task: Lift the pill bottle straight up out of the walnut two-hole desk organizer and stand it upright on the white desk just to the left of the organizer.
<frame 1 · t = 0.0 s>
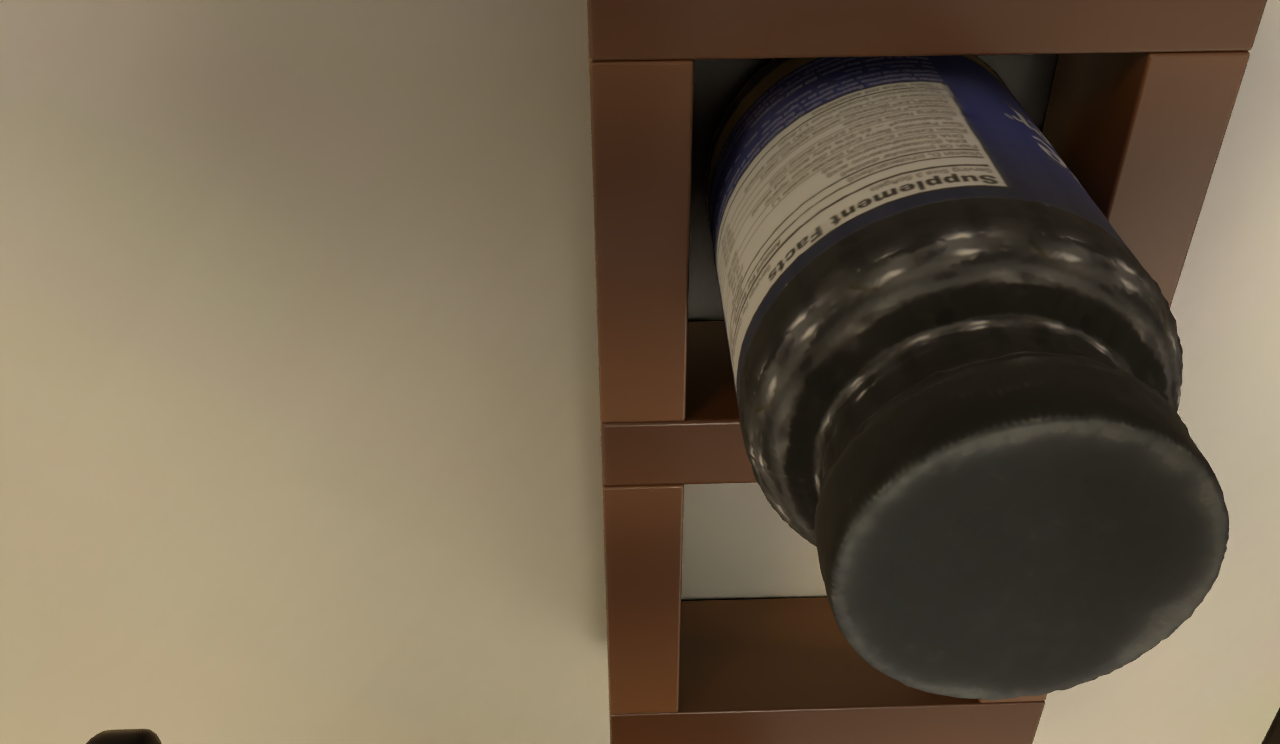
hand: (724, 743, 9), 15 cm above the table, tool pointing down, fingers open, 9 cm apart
pill bottle: (854, 162, 23), resting in organizer
organizer: (835, 347, 25), on the table
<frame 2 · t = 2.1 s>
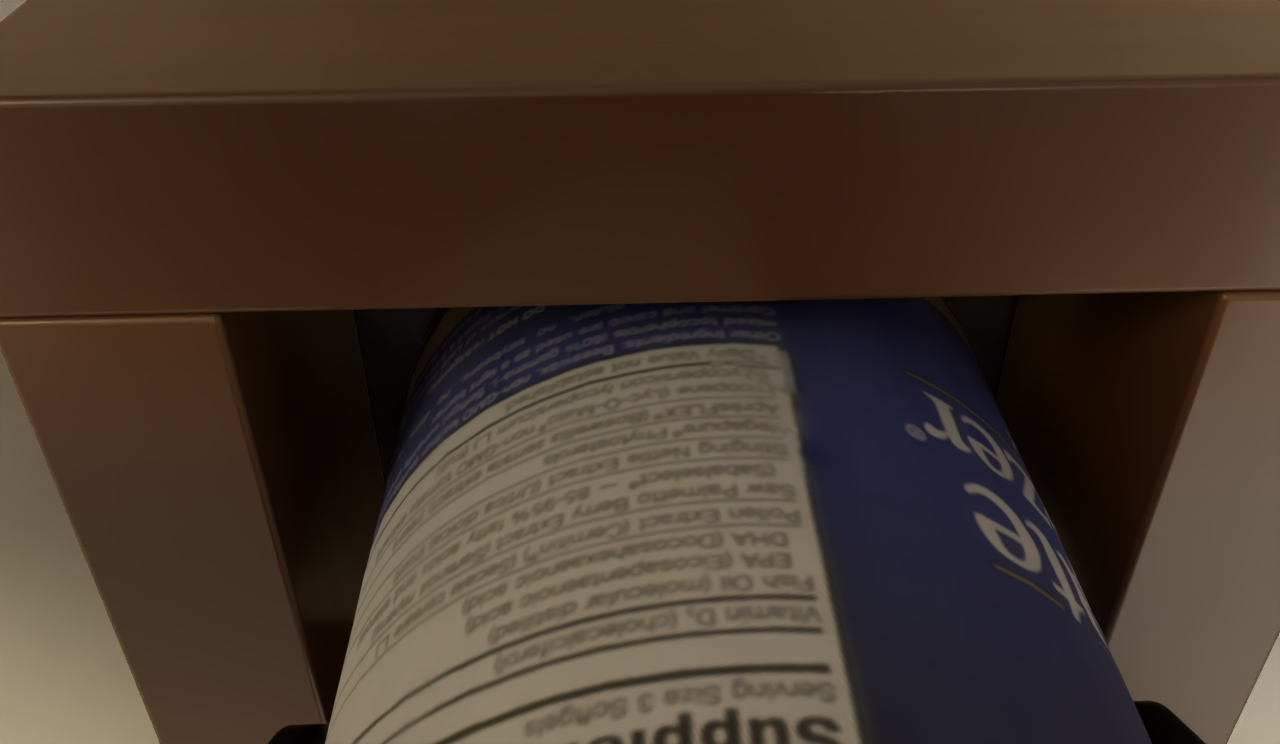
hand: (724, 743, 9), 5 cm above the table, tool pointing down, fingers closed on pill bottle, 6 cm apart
pill bottle: (684, 390, 13), resting in organizer, touching gripper
organizer: (679, 655, 15), on the table
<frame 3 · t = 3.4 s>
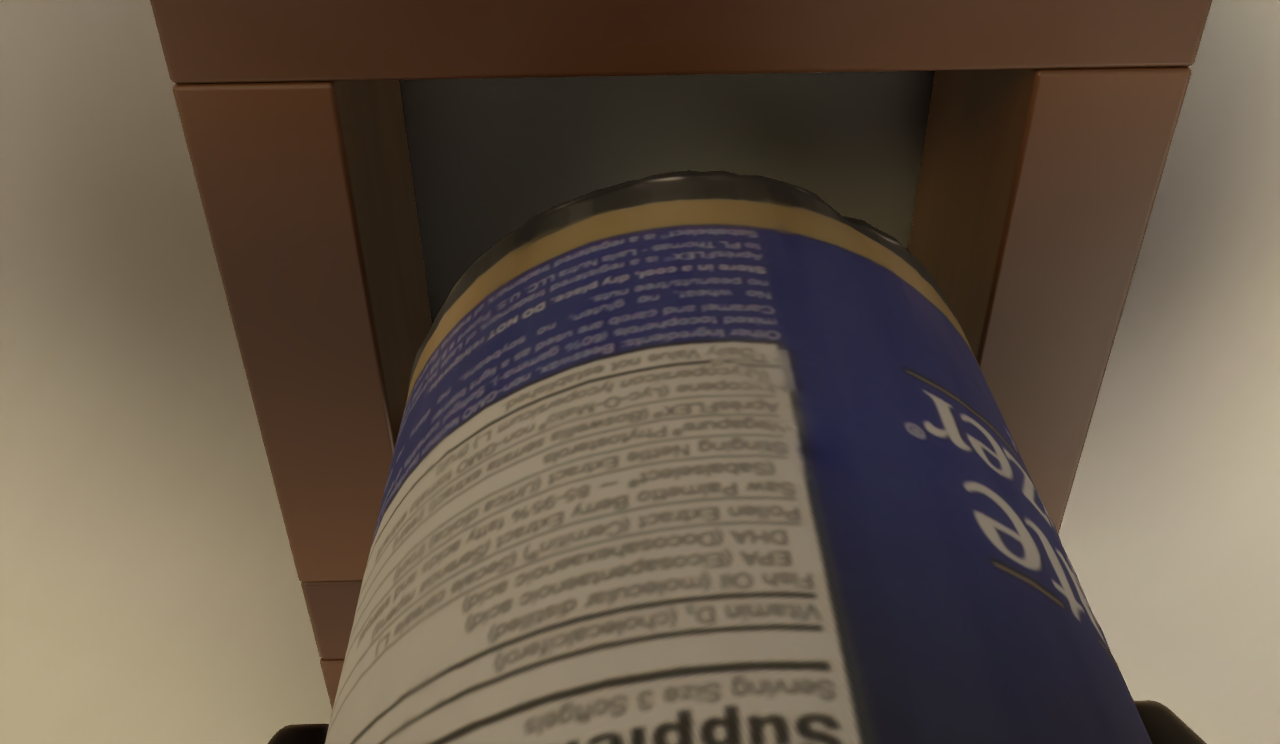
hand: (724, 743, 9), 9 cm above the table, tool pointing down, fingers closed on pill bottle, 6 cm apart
pill bottle: (684, 389, 13), point 4 cm above the table, touching gripper
organizer: (664, 452, 19), on the table
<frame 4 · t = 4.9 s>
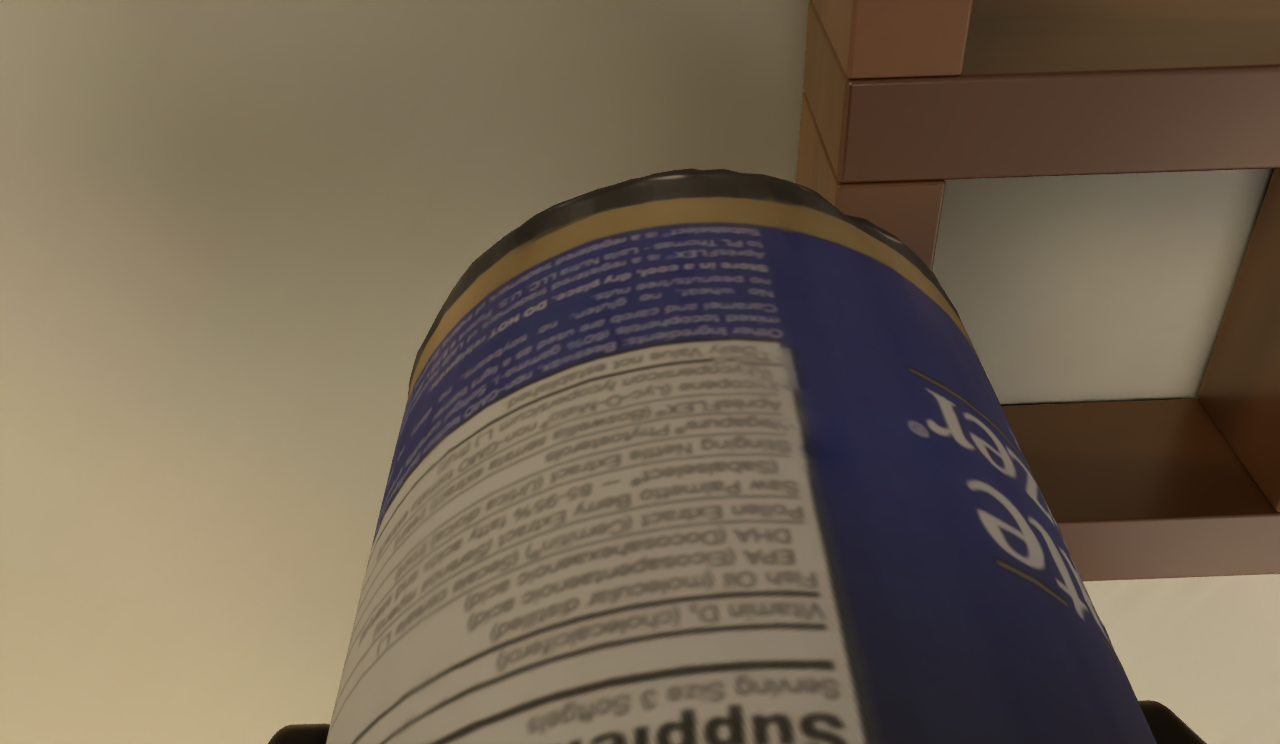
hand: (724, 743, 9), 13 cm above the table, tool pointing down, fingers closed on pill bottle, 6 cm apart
pill bottle: (685, 388, 13), point 8 cm above the table, touching gripper
organizer: (1110, 34, 19), on the table
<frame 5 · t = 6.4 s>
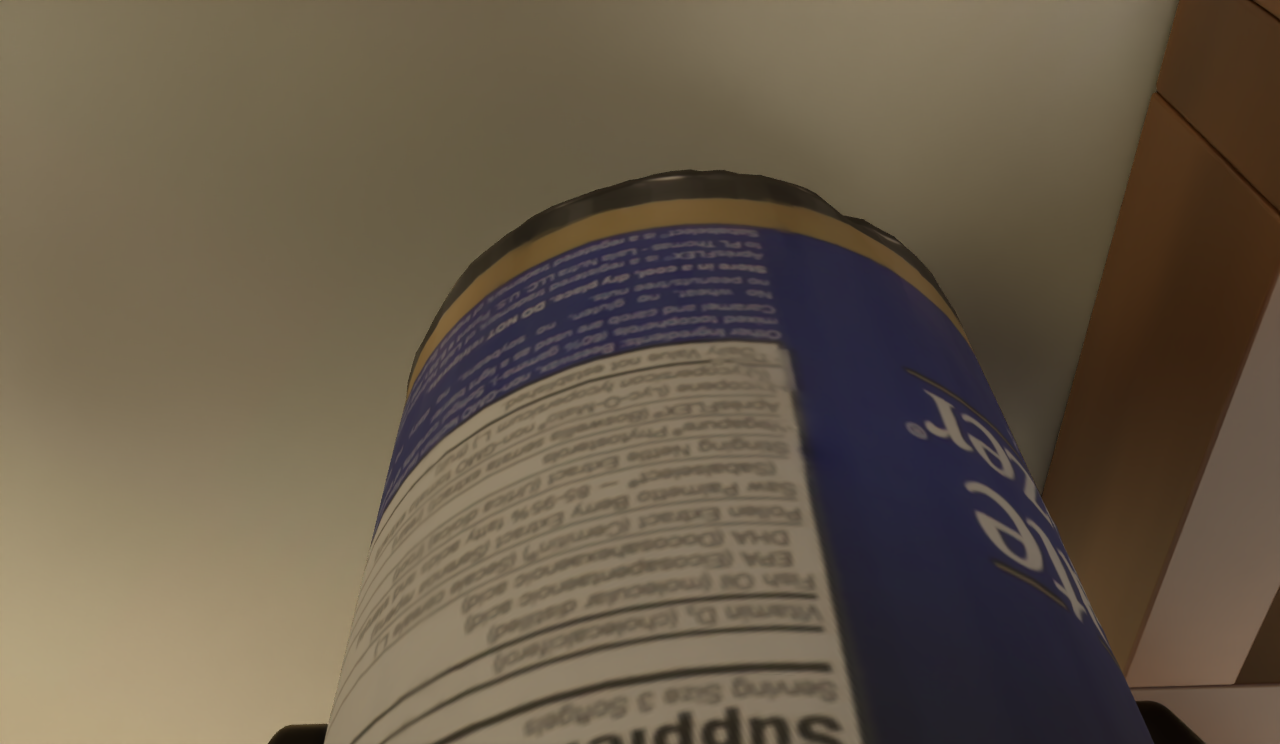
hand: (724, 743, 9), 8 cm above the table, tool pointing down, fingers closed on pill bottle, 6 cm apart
pill bottle: (684, 389, 13), point 3 cm above the table, touching gripper
when the fingers open (4 cm above the table, at t = 7.7 s): pill bottle stays where it is, on the table.
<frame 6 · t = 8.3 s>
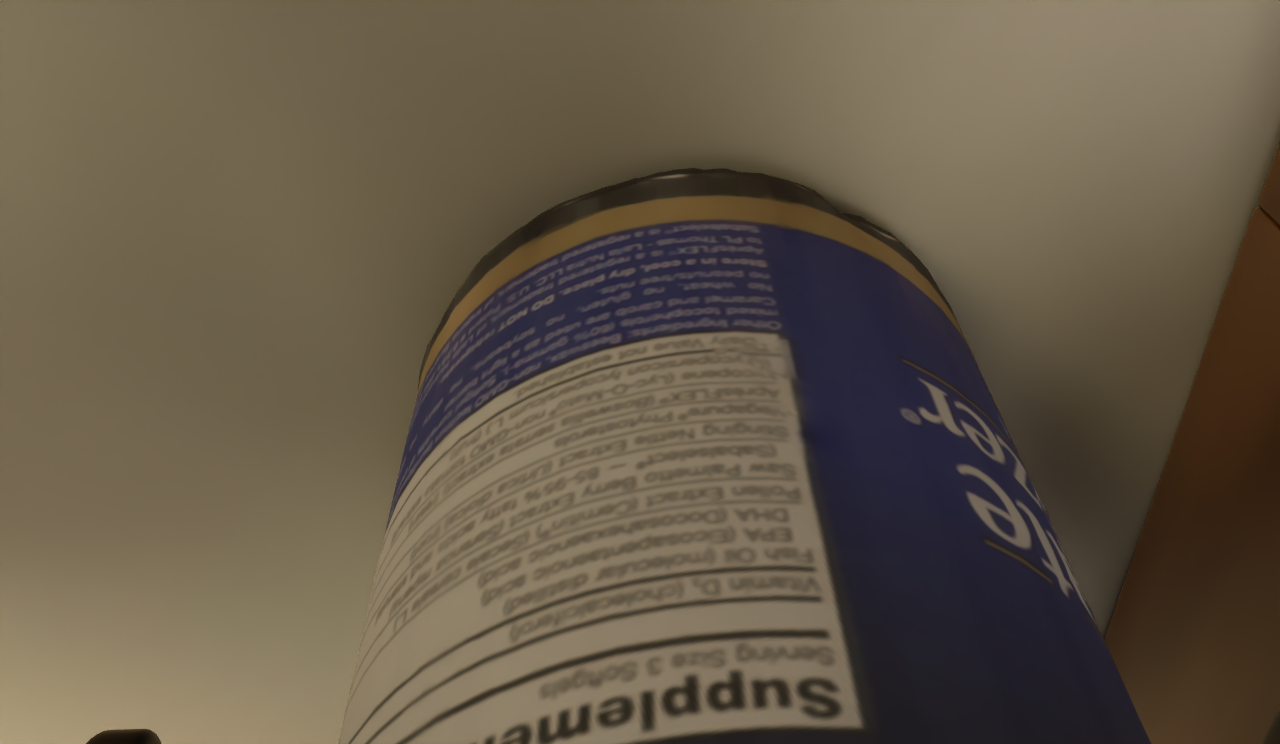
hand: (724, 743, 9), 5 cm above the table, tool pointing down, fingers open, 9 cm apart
pill bottle: (687, 382, 13), on the table
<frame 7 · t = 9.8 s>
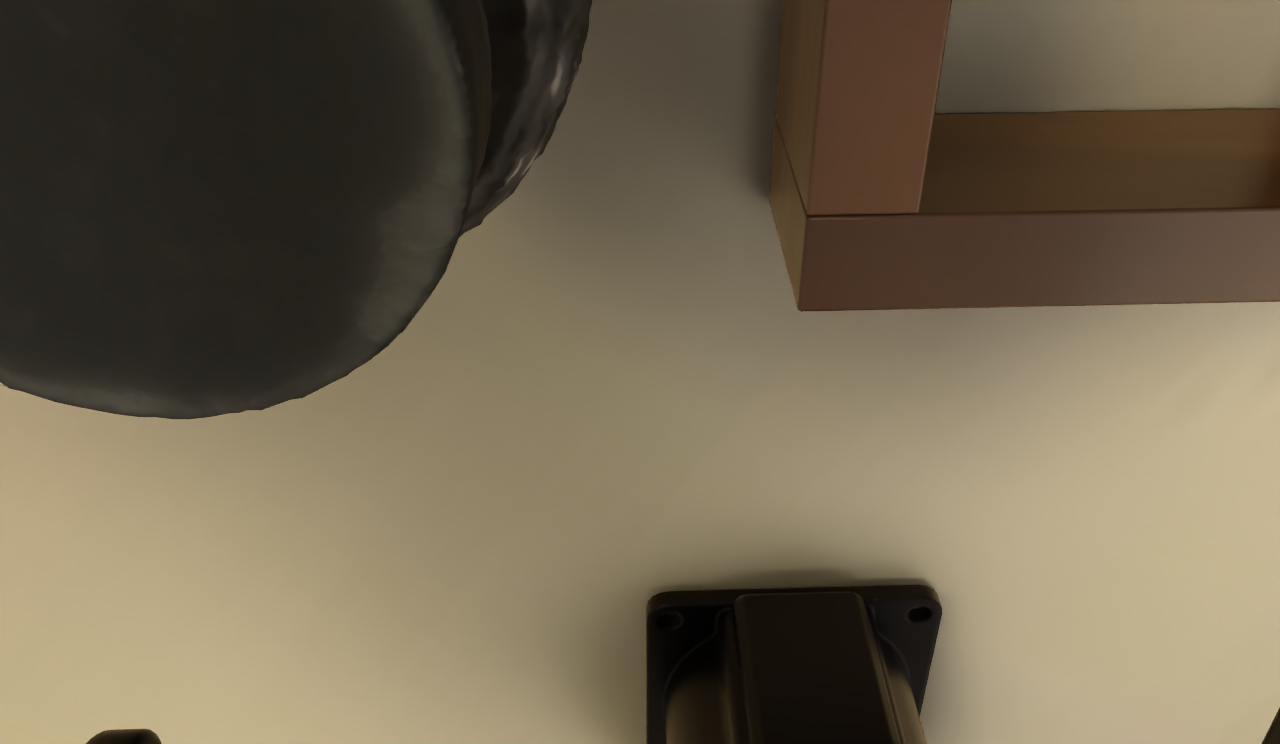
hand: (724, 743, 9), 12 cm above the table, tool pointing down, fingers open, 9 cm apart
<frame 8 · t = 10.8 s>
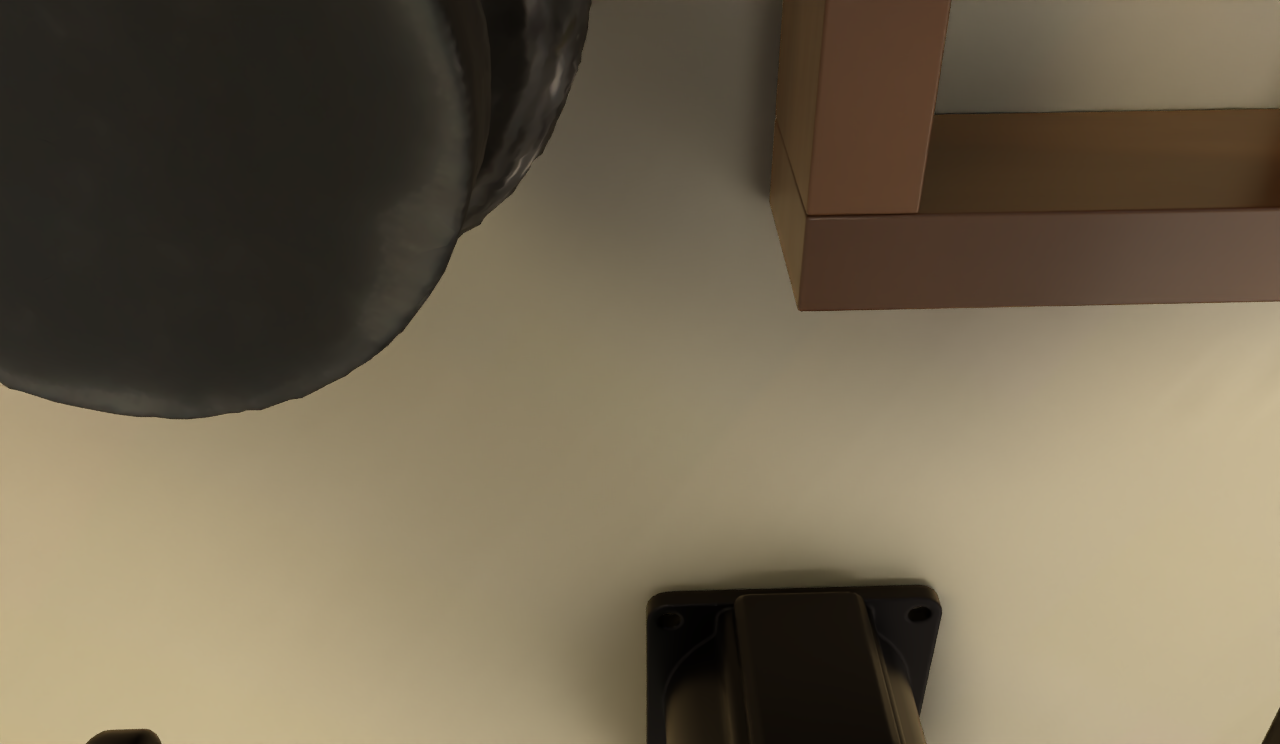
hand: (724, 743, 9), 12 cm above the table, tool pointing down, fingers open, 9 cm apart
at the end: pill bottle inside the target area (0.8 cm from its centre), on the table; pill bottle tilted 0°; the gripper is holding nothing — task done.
